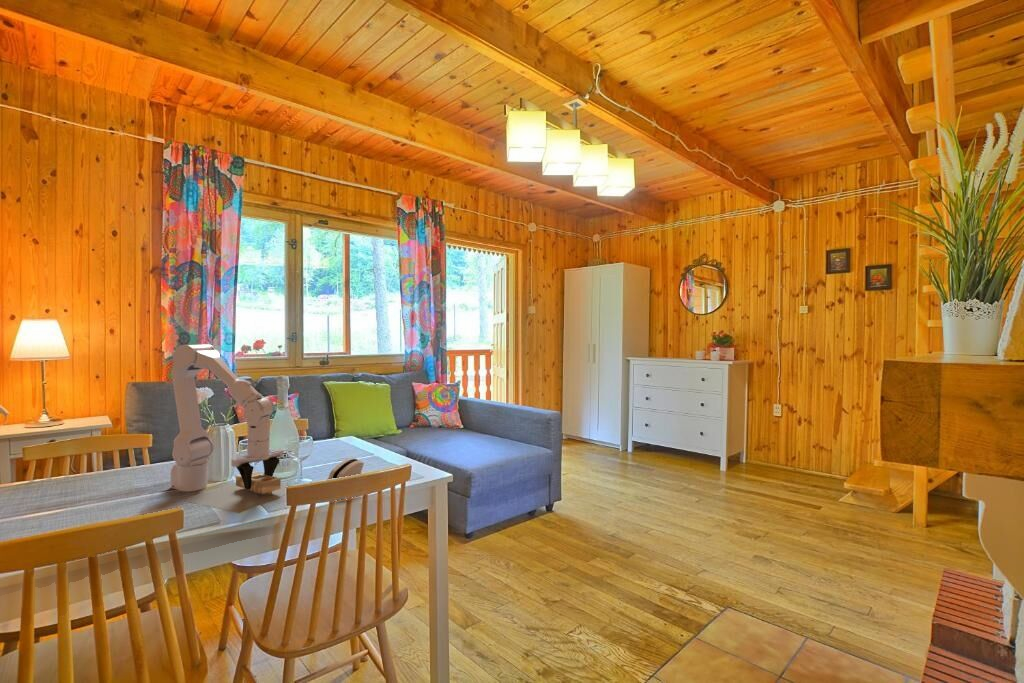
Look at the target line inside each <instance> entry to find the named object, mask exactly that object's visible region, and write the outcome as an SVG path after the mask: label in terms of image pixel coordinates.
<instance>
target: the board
mask: <svg viewBox="0 0 1024 683" xmlns="http://www.w3.org/2000/svg"><path fill="white" fill-rule="evenodd" d="M287 486H288V485H286V484H281V489H278V490H275V491H271V492H268V493H264V494H261V493H258V492H255V491H251V490H248V489H245V488H242V487H239V486H236V481H235V482H232V483H230V484H227V485H223V486H221V487H217V488H214V489H210V490H208V491H204V492H201V493H198V494H195V495H192V496H188V497H186V498H183V499H180V500H179V501H182V502H187V503H191V504H194V505H199V506H204V507H210V508H213V509H218V510H223V511H229V512H232V513H236V514H237V513H238V514H240V513H243V512H245V511H248V510H250V509H252V508H256V507H258V506H260V505H265V504H266V503H269V502H271V501H274V500H276V499H279V498H281V497H284V496H286V495H285V488H286V487H287Z"/></svg>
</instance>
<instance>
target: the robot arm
mask: <svg viewBox="0 0 1024 683" xmlns="http://www.w3.org/2000/svg"><path fill="white" fill-rule="evenodd" d="M171 356H172V361H173V362H172V363H173V365H172V368H171V377H172V378H171V379H172V386H173V393H174V400H175V406H176V413H177V419H178V420H177V421H178V427H179V433H178V434H177V436H175V438H174V439H173V449H172V455H171V456H172V458H173V460H174V462H175V463H174V464H173V465H172V467H171V469H170V489H175V490H178V491H179V492H180V491H181V492H195V491H200V490H203V489H206V488H207V487H208V460H209V461H210V456H211V455H212V454H213V452H214V449H215V448H214V443H213V441H212V439H211V437H210V433H209V432H208V431H207V430H205V429H204V428H203V427H202V426H203V425H202V419H201V413H200V406H199V405H200V404H199V398H198V393H197V392H198V391H197V386H196V384H197V383H196V378H195V377H196V376H197V375H198V374H199V372H200V371H201V370H204V369H205V370H209V371H210V372H211V373H212V374H213V375H214V376H216V377H217V378H218V379H219V380H220V381H221V382H222V383H224V384H225V385H226V386H227V387H228V389H227V390H228V394H229V395H230V396H231V397H232V398H233V399H234V400H235V401H236V402H237V403H238V404H239V405H240V406H241V408H243V410H242V413H243V415H244V417H245V418H246V424H247V445H246V446H247V450H246V451H247V452H246V453H247V454H244V455H242V456H238V457H235V458H231V462H230V464H231V466H232V467H234V468H236V470H238V472H239V475H240V474H241V477H242V479H243V483H244V487H245V488H246V489H251V477H252V472H253V471H254V466H253V465H251V464H253V463H256V462H257V463H258V462H261V461H262V463H263V464H262V465H263V472H264V473H263V474H266V475H269V476H273V477H274V473H275V470H276V469H277V467H278V465H279V464H280V458H283V457H284V450H282V449H275V450H270V436H271V435H270V432H271V431H270V430H271V429H270V428H271V427H270V425H271V423H270V422H271V415H272V414H273V413H274V412H275V411H274V410H275V404H274V402H273V401H272V399H271V398H270V397H268V396H263V394H261V392H258V391H257V390H256V389H255V388H254V387H253V386H252V382H251V381H250V380H246V379H241V378H239V377H238V376H237V375H236V374H235V373H234V371H232V369H231V368H230V367H229V366H228V365H227V363H226V362H225V361H224V360H223V358H222V357H221V355H220V352H219V351H218V350H217V349H215V346H213V345H211V344H210V343H209V344H208V343H202V344H182V345H179V346H178V347H176V349H175V350H174V351H173V353H172V355H171Z"/></svg>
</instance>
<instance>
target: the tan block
mask: <svg viewBox="0 0 1024 683" xmlns="http://www.w3.org/2000/svg"><path fill="white" fill-rule="evenodd" d="M235 482H236V486H239V487H242V488H245V487H244V483H243V479H242V477H241V474H240V473H239V474H236V475H235ZM281 482H282V481H281V478H279V477H276V476H274V475H273V476H269V475H266V474H264V473H262V472H257V471H255V470H253V472H252V477H251V489H248V490H251V491H255V492H258V493H261V494H264V493H268V492H271V491H275V490H278V489H281V485H282V484H281ZM245 489H246V488H245Z"/></svg>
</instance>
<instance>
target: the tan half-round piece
mask: <svg viewBox="0 0 1024 683" xmlns="http://www.w3.org/2000/svg"><path fill="white" fill-rule="evenodd" d="M363 467H364V461H361V460H358V458H355V457H349V458H345V459H344V460H342V461H341V462H340V463H338V464H337V465H336V466H335V467H333V469H332V470H330V472H329V475H328V478H327V480H328V479H332V478H339V477H345V476H351V475H356V474H360V475H361V473H362V471H363Z"/></svg>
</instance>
